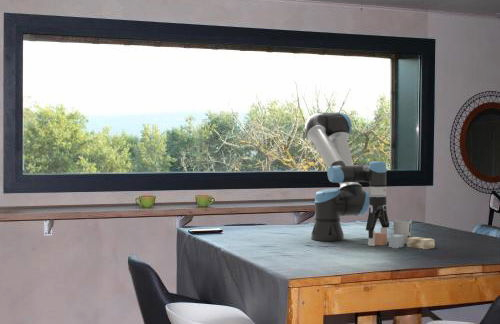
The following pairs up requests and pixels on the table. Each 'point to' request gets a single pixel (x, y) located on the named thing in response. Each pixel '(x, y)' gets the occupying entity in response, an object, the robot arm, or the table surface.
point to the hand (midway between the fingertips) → (377, 243)
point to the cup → (402, 228)
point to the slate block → (396, 241)
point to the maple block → (420, 242)
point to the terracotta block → (380, 238)
